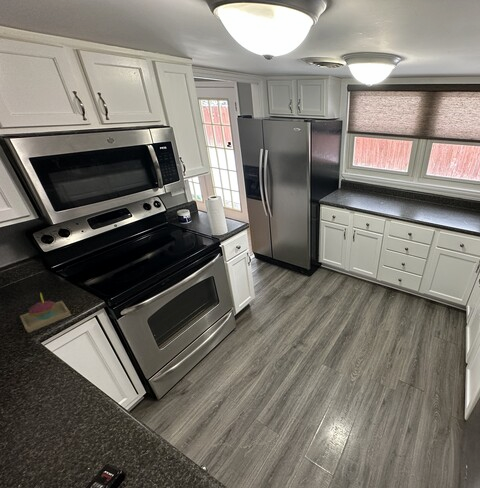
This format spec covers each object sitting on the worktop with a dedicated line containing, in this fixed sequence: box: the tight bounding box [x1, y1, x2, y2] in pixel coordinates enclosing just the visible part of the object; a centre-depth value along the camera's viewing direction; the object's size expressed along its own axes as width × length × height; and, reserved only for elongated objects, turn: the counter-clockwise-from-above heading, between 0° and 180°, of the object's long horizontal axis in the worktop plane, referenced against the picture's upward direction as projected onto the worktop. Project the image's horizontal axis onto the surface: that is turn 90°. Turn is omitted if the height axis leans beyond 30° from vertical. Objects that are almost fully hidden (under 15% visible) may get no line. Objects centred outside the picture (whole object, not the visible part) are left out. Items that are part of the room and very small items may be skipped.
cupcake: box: [28, 291, 56, 320], centre depth 116 cm, size 9×8×12 cm
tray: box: [19, 300, 72, 334], centre depth 119 cm, size 13×14×2 cm
